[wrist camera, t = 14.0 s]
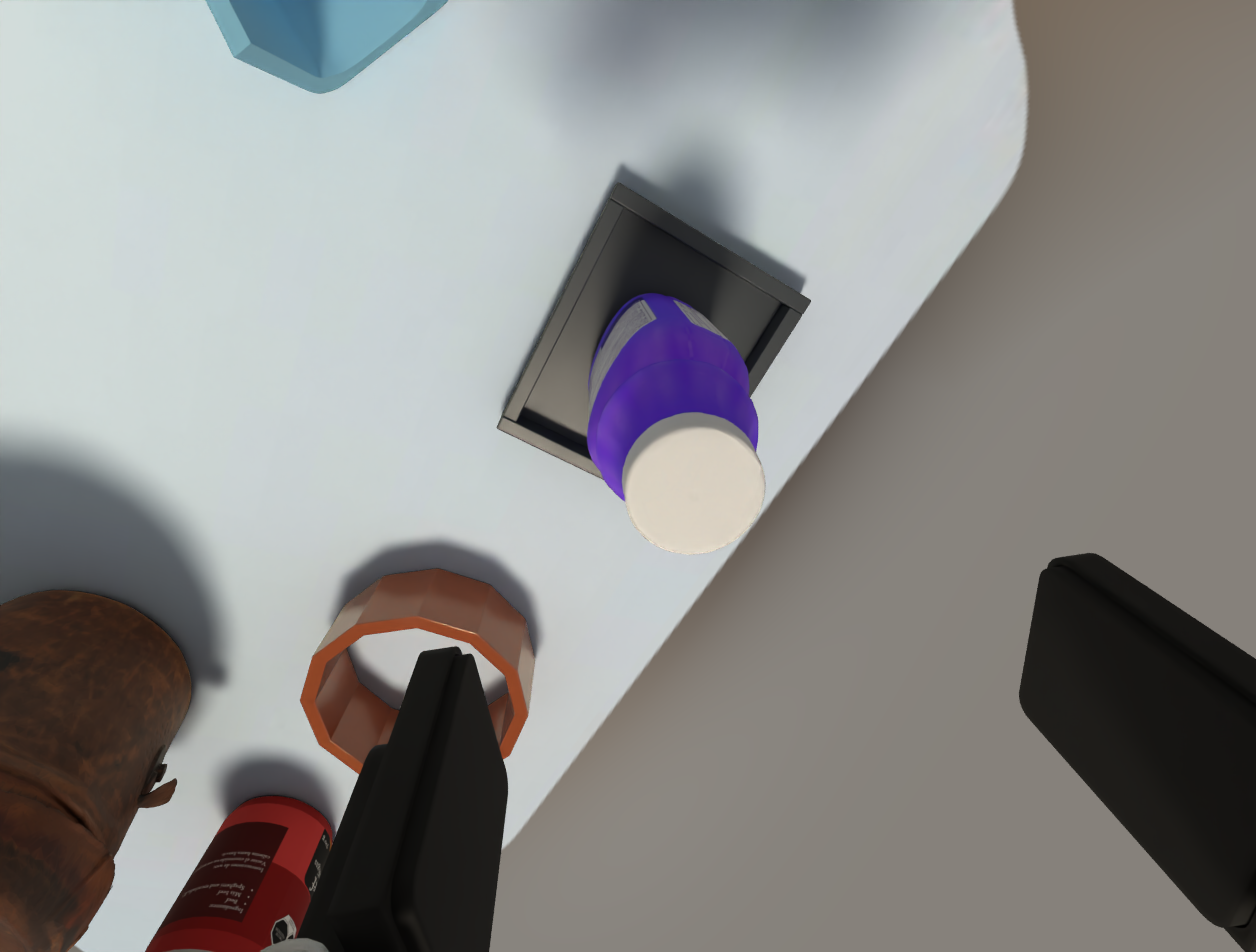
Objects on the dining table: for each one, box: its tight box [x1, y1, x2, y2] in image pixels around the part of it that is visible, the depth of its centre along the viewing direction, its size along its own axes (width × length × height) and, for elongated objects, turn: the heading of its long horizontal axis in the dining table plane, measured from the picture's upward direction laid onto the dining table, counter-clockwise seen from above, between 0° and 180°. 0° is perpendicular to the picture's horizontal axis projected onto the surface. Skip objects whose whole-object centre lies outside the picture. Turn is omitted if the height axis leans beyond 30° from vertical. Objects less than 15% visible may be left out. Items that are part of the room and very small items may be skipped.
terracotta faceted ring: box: [300, 568, 535, 774], centre depth 38 cm, size 13×13×5 cm
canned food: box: [145, 796, 332, 952], centre depth 41 cm, size 8×8×11 cm
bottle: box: [587, 293, 765, 555], centre depth 25 cm, size 7×6×17 cm
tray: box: [497, 183, 811, 480], centre depth 33 cm, size 14×11×2 cm
